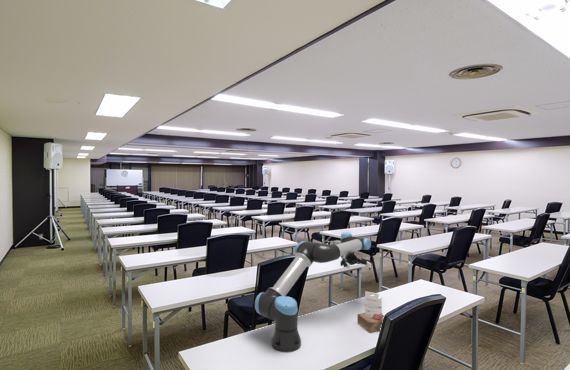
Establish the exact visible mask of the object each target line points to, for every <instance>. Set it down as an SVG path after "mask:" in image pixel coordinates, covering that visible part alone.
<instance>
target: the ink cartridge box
mask: <svg viewBox="0 0 570 370" xmlns="http://www.w3.org/2000/svg"><path fill="white" fill-rule="evenodd" d="M382 311H383V307H382V296H379V293H377V292H373V291H372V292H371V291H367V290H365V294H364V313H365V316H366V317H370V318H374V319H380V318H381V317H382V315H383V312H382Z"/></svg>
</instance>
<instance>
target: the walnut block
mask: <svg viewBox="0 0 570 370" xmlns="http://www.w3.org/2000/svg"><path fill="white" fill-rule="evenodd" d="M384 316H385V315H383V314H382V317H381V318H380V319H374V318H370V317H366V316H365V312H360V313H357V325H359V326H360V327H362V328H363V329H364V330H365V331H367V332H368V333H370V334H372V333H377V332H378V333H379V332H381V331H380V328H381V325H382V321H383V317H384Z"/></svg>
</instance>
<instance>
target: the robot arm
mask: <svg viewBox="0 0 570 370" xmlns="http://www.w3.org/2000/svg"><path fill="white" fill-rule="evenodd" d="M371 247H372V241H371V239H370V238H366V237H358V236H353V234H352V233H351V232H342V233H341V234H340V243H338V244H335V243H331V244H326V243H320V242H315V241H310V240H302V241H300V242H299V243H298V244H297V245H296V246H295V251H294V252H295V253H294V256H295V257H294V258H293V260H292V262H291V263H290V264H289V266H288V267H287V268H286V269H285V271H284V272H283V274H282V275H281V276H280V277H279V278H278V280H277V281H276V283H274V285H273V287H268V288H267V290H266V291H265V292H264V291H263V292H262V291H261V292H259V294H258V295H257V296H256V298H255V301H254V308H255V311H256V313H257V314H258V315H260V316H262V317H265V318H267V319H269V320H271V321H273V322H274V332H273V335H272V337H271V338H272V339H271V346H272V348H273V349H275V350H277V351H279V352H283V353H288V352H294V351H296V350H298V349H300V348H301V346H302V338H301V336H300V333H299V330H298V309H299V308H298V302H297V300H296V299H295V298H293V297H290V296H287V294H288V293H289V292H290V290H291V289H292V287H293V286H294V285H295V284H296V282H297V281H298V279H299V278H300V277H301V275H302V274H303V273H304V271H305V270H306V268H309V267H311V266H312V264H313V263H319V264H325V263H329V262H333V261H337V260H338V259H339V258H341V261H340V267H343V268H347V269H348V270H350V268H351V267H350V266H353V265H355V264H356V265H365V266H366V267H368V268H369V269H372V265H373V264H372V260H369V259H366V258H362V257H360V258H358V257H357V255H355V254H354V253H355V252H358V251H360V250H361V251H362V250H367V251H368V250H370V249H371Z"/></svg>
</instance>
